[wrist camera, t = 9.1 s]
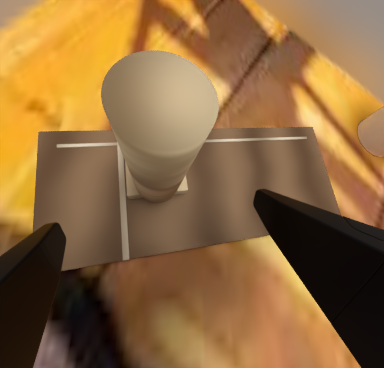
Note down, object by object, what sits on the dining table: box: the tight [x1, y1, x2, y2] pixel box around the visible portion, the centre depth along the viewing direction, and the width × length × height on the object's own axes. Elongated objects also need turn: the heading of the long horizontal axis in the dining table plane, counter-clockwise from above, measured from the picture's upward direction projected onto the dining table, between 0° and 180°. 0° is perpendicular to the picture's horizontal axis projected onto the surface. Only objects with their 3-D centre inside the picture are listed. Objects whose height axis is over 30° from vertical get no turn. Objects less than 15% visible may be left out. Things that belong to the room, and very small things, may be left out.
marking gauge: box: [101, 51, 219, 203], centre depth 13 cm, size 5×10×14 cm, turn 9°
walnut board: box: [33, 127, 341, 271], centre depth 19 cm, size 30×12×2 cm, turn 99°
